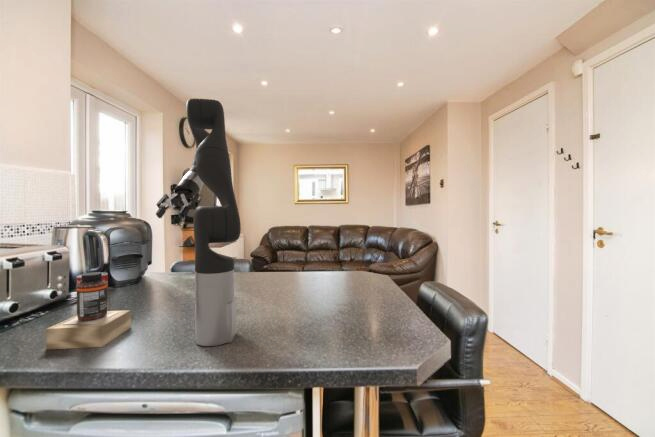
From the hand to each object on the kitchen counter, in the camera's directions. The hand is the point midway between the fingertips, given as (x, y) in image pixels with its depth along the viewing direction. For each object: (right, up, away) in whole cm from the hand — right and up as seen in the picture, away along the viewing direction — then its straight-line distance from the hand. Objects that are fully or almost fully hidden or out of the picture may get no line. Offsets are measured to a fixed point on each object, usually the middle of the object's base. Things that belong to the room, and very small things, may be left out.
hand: (169, 216), depth 99 cm
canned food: (-22, -31, -5) cm, 38 cm away
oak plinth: (-6, -31, -25) cm, 40 cm away
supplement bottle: (-6, -26, -25) cm, 36 cm away
